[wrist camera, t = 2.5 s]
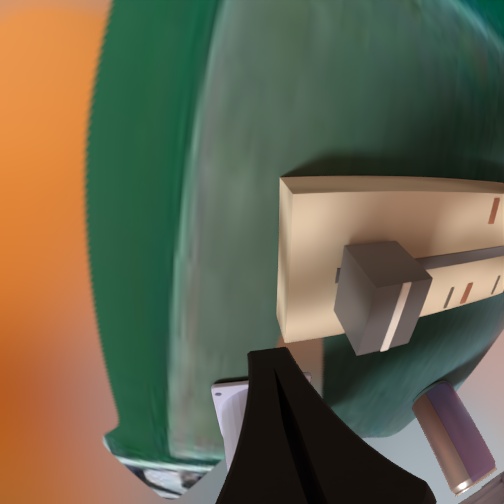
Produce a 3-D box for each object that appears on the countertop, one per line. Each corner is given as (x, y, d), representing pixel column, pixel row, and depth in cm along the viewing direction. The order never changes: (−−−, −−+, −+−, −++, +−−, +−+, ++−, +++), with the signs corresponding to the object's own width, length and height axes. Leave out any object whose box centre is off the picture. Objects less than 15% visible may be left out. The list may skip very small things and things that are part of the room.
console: (486, 276, 22) (503, 293, 20) (276, 315, 20) (285, 344, 17) (514, 184, 17) (536, 196, 15) (279, 177, 15) (293, 194, 13)
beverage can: (442, 373, 29) (497, 469, 16) (452, 384, 32) (499, 467, 19) (403, 402, 31) (450, 500, 18) (417, 410, 33) (458, 494, 21)
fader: (380, 302, 16) (408, 344, 13) (333, 310, 16) (357, 357, 13) (395, 240, 14) (434, 278, 11) (343, 244, 14) (377, 288, 11)
